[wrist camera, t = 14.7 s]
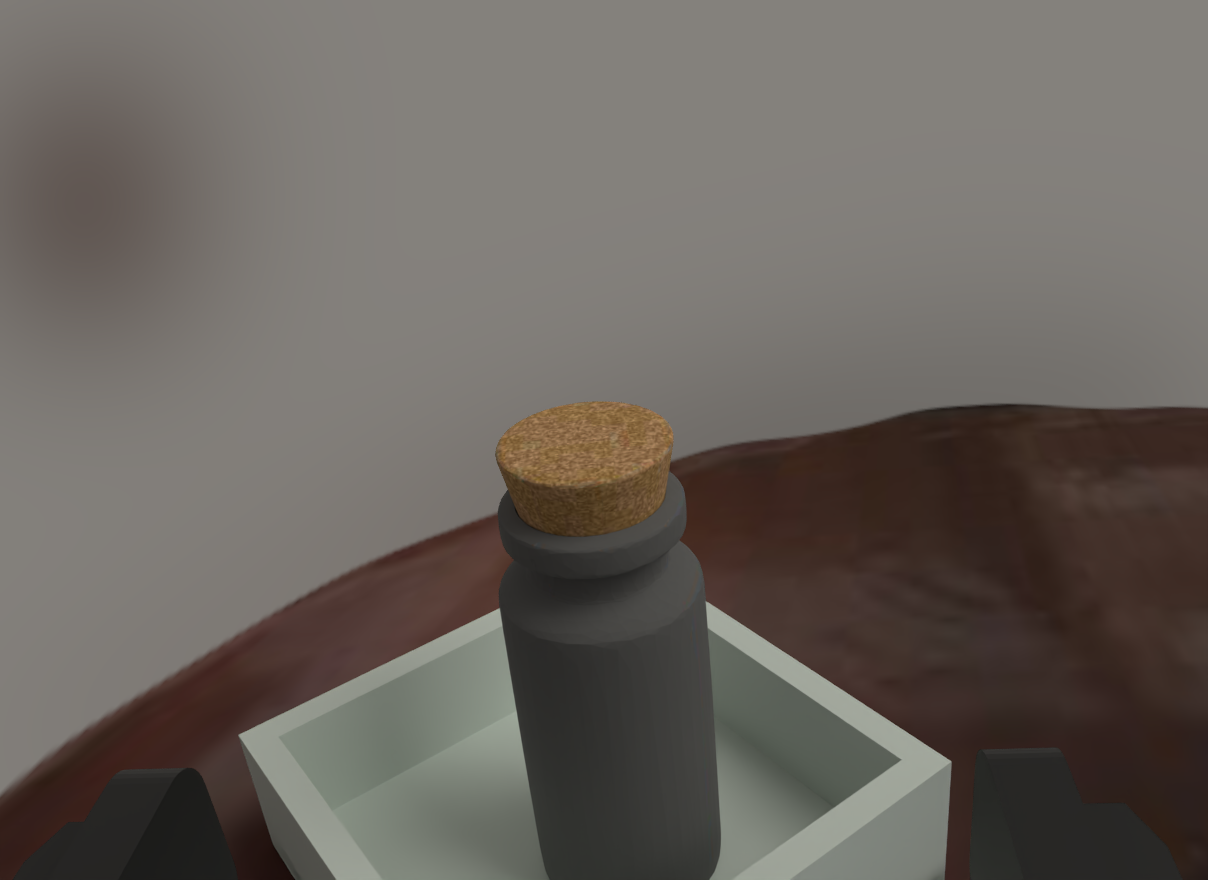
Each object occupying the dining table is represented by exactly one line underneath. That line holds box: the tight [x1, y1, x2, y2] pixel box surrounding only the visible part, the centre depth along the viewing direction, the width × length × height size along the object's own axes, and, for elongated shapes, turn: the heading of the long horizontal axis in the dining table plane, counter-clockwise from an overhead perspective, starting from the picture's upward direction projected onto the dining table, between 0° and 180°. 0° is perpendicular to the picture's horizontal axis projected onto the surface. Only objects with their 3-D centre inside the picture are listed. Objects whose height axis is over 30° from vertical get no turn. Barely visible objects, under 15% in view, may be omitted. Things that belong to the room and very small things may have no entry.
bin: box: [238, 602, 951, 880], centre depth 37 cm, size 16×16×5 cm
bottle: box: [495, 401, 721, 880], centre depth 33 cm, size 6×6×15 cm
